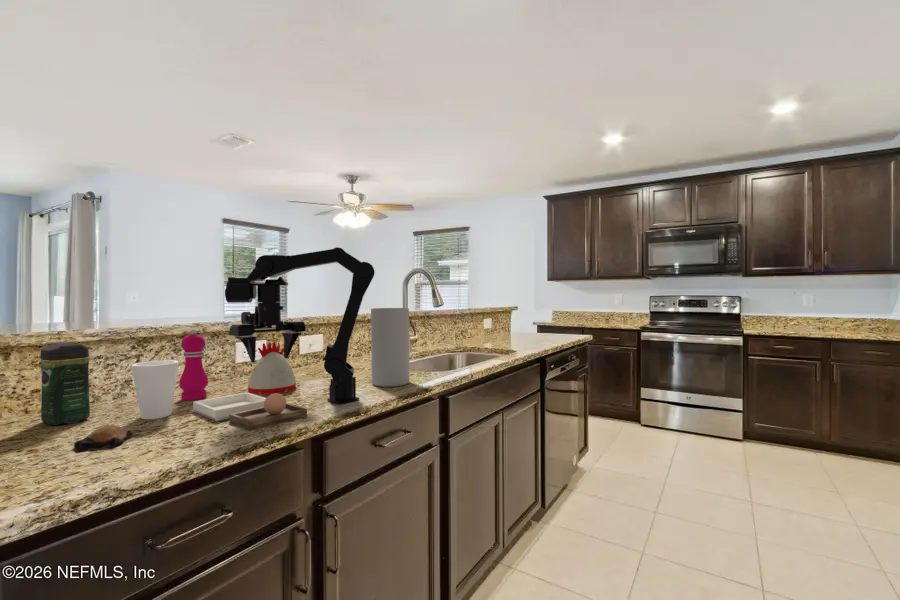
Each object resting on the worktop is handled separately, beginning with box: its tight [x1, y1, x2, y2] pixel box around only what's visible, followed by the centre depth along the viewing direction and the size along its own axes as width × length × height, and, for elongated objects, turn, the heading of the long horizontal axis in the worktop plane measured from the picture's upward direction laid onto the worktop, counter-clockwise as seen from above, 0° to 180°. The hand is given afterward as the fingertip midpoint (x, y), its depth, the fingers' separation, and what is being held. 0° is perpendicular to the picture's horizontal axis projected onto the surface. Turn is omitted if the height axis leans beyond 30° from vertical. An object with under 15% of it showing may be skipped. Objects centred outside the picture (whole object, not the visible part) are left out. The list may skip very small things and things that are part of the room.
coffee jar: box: [39, 342, 91, 426], centre depth 101 cm, size 10×8×19 cm
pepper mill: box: [178, 328, 209, 401], centre depth 124 cm, size 7×7×20 cm
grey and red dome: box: [247, 341, 297, 395], centre depth 134 cm, size 14×14×15 cm
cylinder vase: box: [370, 307, 410, 388], centre depth 142 cm, size 12×12×25 cm
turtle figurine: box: [73, 424, 133, 454], centre depth 86 cm, size 11×8×4 cm
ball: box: [264, 393, 287, 415], centre depth 103 cm, size 5×5×5 cm
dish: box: [192, 391, 267, 422], centre depth 110 cm, size 14×14×2 cm
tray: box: [228, 402, 308, 431], centre depth 102 cm, size 14×10×2 cm
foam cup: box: [131, 359, 179, 420], centre depth 105 cm, size 10×9×13 cm
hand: (269, 360), depth 115 cm, fingers open, 9 cm apart
